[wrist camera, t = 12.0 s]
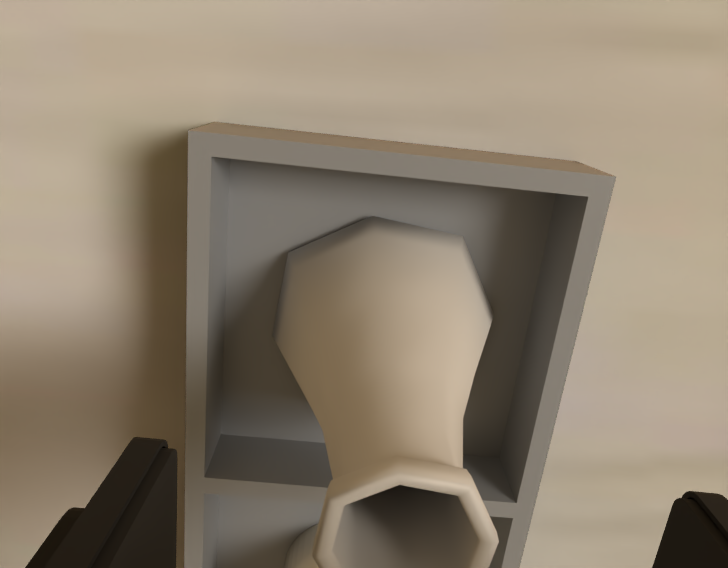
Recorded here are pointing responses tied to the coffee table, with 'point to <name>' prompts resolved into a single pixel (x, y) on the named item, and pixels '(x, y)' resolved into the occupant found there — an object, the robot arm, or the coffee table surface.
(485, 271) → the tray
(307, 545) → the cream egg
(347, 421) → the flask
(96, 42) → the coffee table surface
